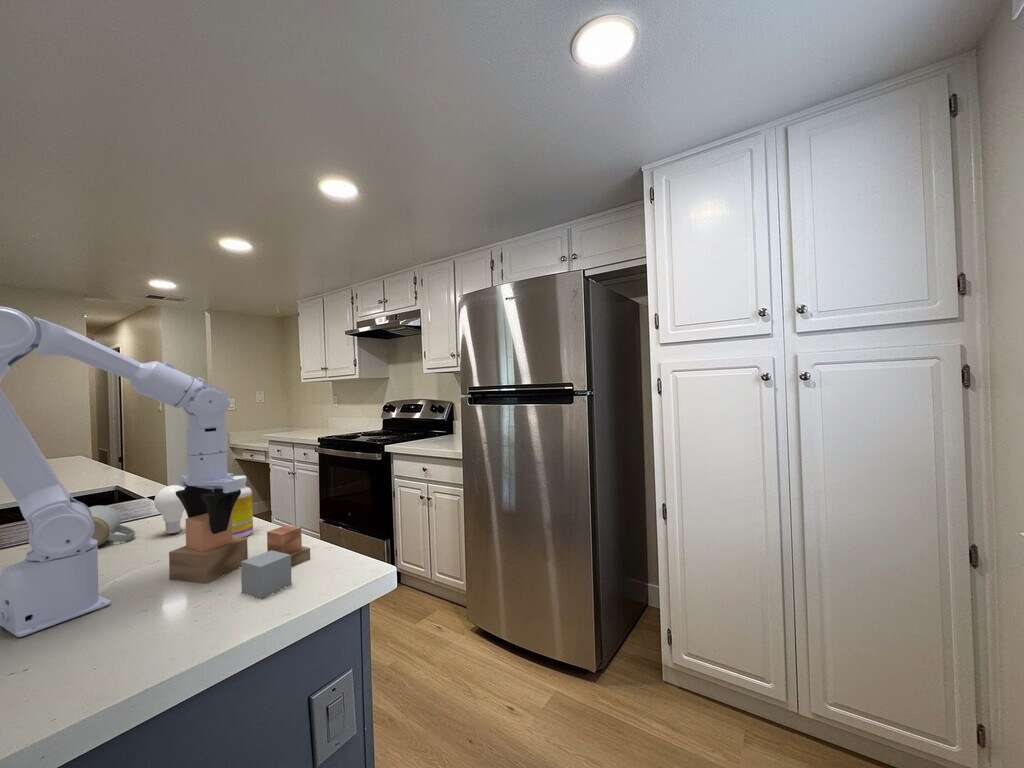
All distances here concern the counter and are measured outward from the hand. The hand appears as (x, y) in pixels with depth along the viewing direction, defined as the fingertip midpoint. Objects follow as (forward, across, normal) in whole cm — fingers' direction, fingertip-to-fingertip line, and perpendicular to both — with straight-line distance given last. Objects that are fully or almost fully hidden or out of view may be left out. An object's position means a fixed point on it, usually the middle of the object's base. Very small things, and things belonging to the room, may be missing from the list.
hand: (209, 529), depth 75 cm
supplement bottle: (+8, +15, -13) cm, 21 cm away
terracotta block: (+3, 0, 0) cm, 3 cm away
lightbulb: (+8, +30, -8) cm, 32 cm away
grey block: (+8, -16, 0) cm, 18 cm away
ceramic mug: (+8, +38, +2) cm, 39 cm away
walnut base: (+8, 0, 0) cm, 8 cm away
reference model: (+7, -9, -8) cm, 14 cm away
